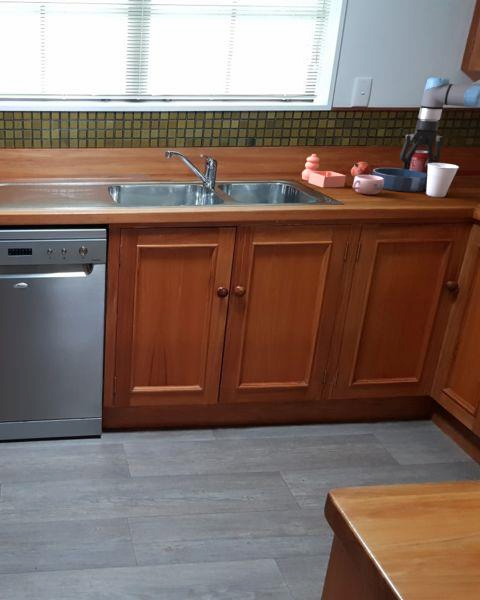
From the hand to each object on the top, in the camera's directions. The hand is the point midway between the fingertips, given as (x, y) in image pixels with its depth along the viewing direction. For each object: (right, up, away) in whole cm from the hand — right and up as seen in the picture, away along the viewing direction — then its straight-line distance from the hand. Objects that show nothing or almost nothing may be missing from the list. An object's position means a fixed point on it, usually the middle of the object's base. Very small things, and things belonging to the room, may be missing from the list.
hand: (414, 179), depth 244 cm
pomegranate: (-21, +3, 0) cm, 22 cm away
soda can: (0, -1, 0) cm, 1 cm away
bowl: (-12, -5, -10) cm, 16 cm away
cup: (-5, -11, -22) cm, 25 cm away
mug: (-31, -10, -22) cm, 39 cm away
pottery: (-41, -3, -5) cm, 41 cm away
